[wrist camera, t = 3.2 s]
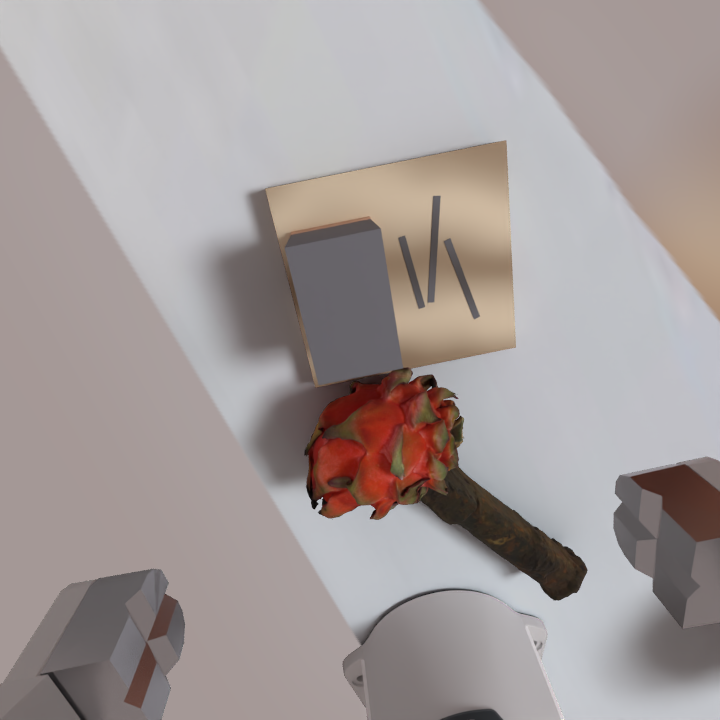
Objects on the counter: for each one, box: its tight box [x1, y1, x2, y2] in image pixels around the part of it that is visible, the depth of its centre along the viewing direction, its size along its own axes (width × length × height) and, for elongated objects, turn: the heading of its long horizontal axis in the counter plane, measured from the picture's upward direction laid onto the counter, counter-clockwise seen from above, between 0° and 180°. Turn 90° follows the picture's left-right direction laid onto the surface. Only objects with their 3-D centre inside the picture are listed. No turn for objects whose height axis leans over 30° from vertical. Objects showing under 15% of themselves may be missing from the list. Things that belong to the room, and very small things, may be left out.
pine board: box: [265, 141, 516, 388], centre depth 27 cm, size 12×13×2 cm
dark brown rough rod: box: [420, 467, 587, 600], centre depth 33 cm, size 19×4×5 cm, turn 45°
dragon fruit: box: [304, 367, 464, 520], centre depth 28 cm, size 8×8×12 cm
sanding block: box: [285, 216, 403, 385], centre depth 24 cm, size 7×4×5 cm, turn 10°
